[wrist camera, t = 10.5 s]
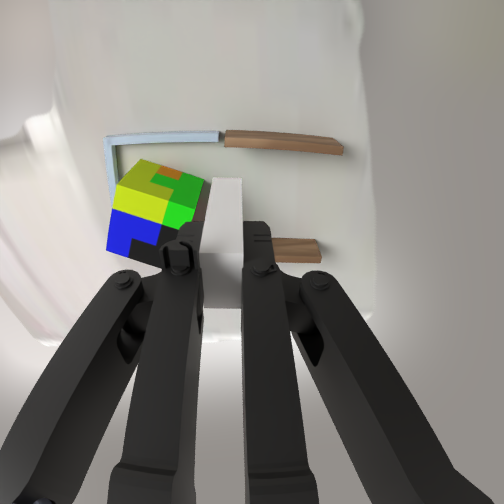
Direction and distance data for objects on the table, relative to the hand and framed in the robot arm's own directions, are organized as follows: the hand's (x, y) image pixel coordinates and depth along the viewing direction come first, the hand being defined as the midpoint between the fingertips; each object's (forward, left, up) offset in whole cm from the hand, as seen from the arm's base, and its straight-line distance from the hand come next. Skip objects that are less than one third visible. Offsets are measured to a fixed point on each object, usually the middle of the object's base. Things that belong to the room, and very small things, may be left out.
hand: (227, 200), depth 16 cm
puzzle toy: (+12, -10, -27) cm, 31 cm away
